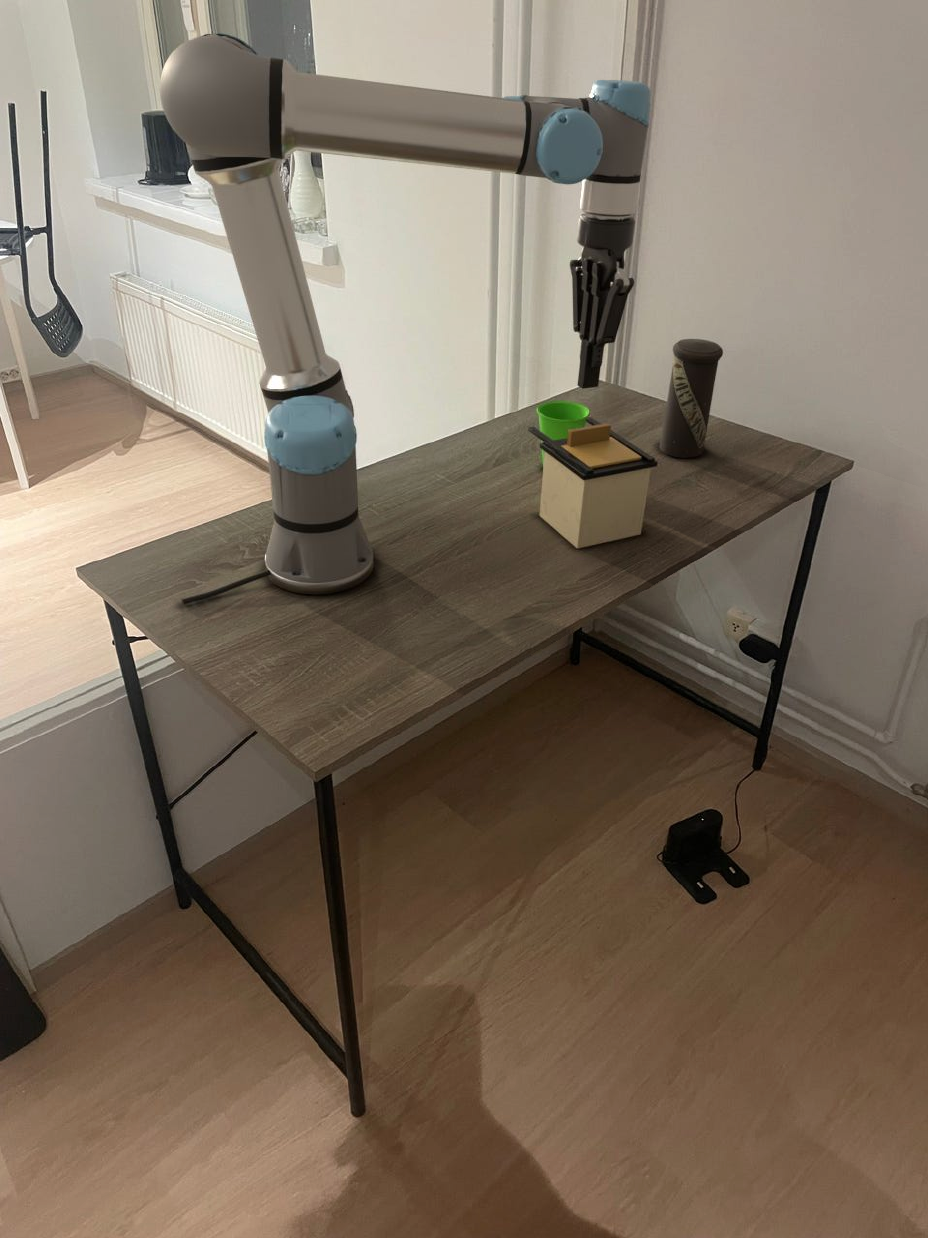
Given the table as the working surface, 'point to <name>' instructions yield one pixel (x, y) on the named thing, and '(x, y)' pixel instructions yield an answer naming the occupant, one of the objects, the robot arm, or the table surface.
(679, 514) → the table surface
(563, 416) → the cup
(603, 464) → the shutter
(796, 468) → the table surface
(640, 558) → the table surface
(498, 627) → the table surface
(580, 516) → the sliding lid box
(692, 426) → the container
